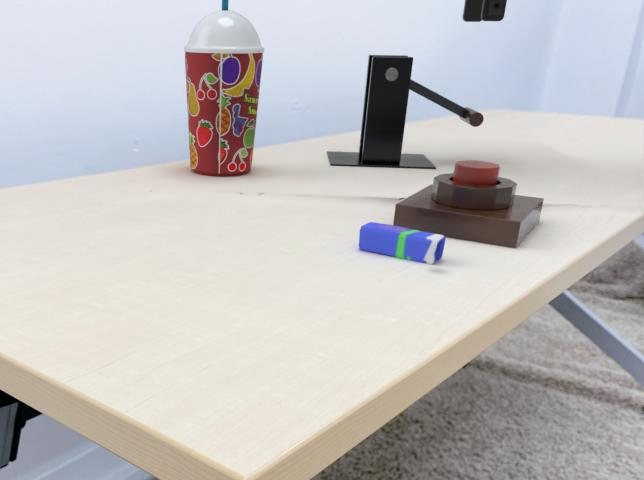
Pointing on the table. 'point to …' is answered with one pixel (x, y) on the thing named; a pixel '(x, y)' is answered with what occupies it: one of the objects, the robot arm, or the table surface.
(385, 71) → the bracket
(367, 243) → the eraser
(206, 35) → the smoothie
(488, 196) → the button block
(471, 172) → the button
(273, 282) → the table surface
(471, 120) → the lever
